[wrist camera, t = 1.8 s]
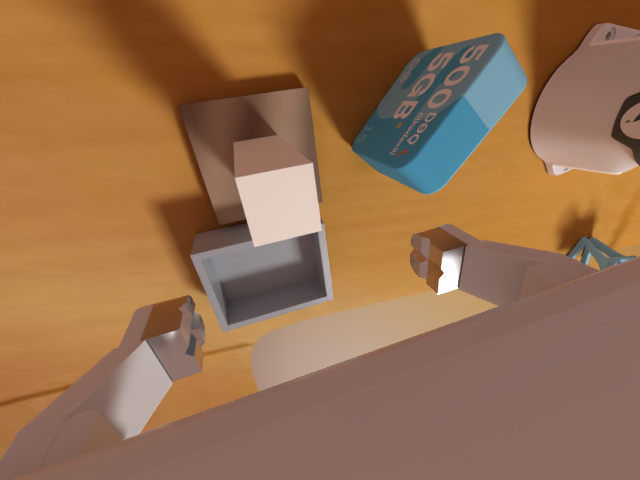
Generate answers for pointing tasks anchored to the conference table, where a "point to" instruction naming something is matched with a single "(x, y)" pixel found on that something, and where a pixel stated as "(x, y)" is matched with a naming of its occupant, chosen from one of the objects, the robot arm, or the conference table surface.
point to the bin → (260, 274)
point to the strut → (276, 189)
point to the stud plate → (245, 138)
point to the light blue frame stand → (598, 253)
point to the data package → (441, 111)
